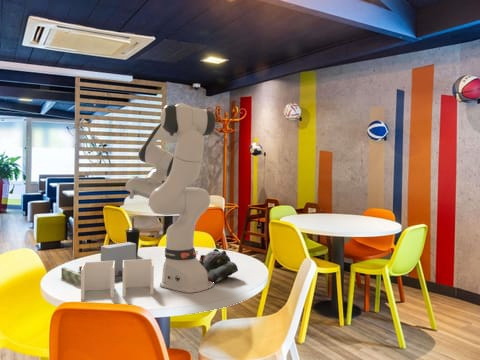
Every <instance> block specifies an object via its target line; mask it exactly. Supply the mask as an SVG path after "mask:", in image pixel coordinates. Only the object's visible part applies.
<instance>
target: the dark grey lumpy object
mask: <svg viewBox="0 0 480 360" xmlns="http://www.w3.org/2000/svg"><path fill="white" fill-rule="evenodd" d="M198 261H199V262H200V263H201V264H202V266H203V267H205V269H206V270H207V273H208V281H210V282H214V283H215V284H216V283H218V282H220V281H222V280H223V279H225V278H228V277H229V276H232V275H233V274H235V273H238V271H239V269H238V266H237V264H236V263H234V262H233V261H231V258H230V257H229V256H228V255H227V251H226V250H222V251H219V249H217V248H214V249H213V251H209V252H208V253H206V254H205V255H204V254H200V258H199V259H198Z"/></svg>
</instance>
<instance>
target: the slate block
mask: <svg viewBox="0 0 480 360" xmlns="http://www.w3.org/2000/svg"><path fill="white" fill-rule="evenodd" d="M123 260H137V256H136V244H135V243H131V242H127V241H125V242H121V243H113V244H107V245H106V244H105V245H101V246H100V261H115V275H119V271H123Z"/></svg>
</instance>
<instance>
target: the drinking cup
mask: <svg viewBox="0 0 480 360" xmlns="http://www.w3.org/2000/svg"><path fill="white" fill-rule="evenodd" d="M131 218H132V219H131V221H132V222H131V225H132V227H129V228H127V229H125V230H124V231H125V237H126V242H131V243H135V244H136V257H138V254H139V243H140V242H139V241H140V236H141V235H140V233H141V229H139V228H137V227H134V224H135V223H134V222H135V221H134V217H131Z"/></svg>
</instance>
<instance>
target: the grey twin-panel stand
mask: <svg viewBox="0 0 480 360" xmlns="http://www.w3.org/2000/svg"><path fill="white" fill-rule="evenodd" d="M154 269H155V266H154V263H153V259H152V258H145V259H143V258H141V259H136V260H123V281H122V296H121V297H123V298H125V297H126V295H127V294H126V292H127V290H126V289H128V288H129V289H130V288H141V287H142V288H143V287H144V288H145V287H149V289H150V290H149V295H150V296H152V295H154V279H155V278H154V277H155V275H154V271H155V270H154ZM80 272H81V285H80V300H82V301H84V300H85V293H86V291H97V290H98V291H99V290H110V292H109V295H110V298H111V299H113V298H115V287H116V285H115V283H116V282H115V275H116V274H115V261H101V260H100V261H84V263H83V265H82V269H81V271H80Z"/></svg>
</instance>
